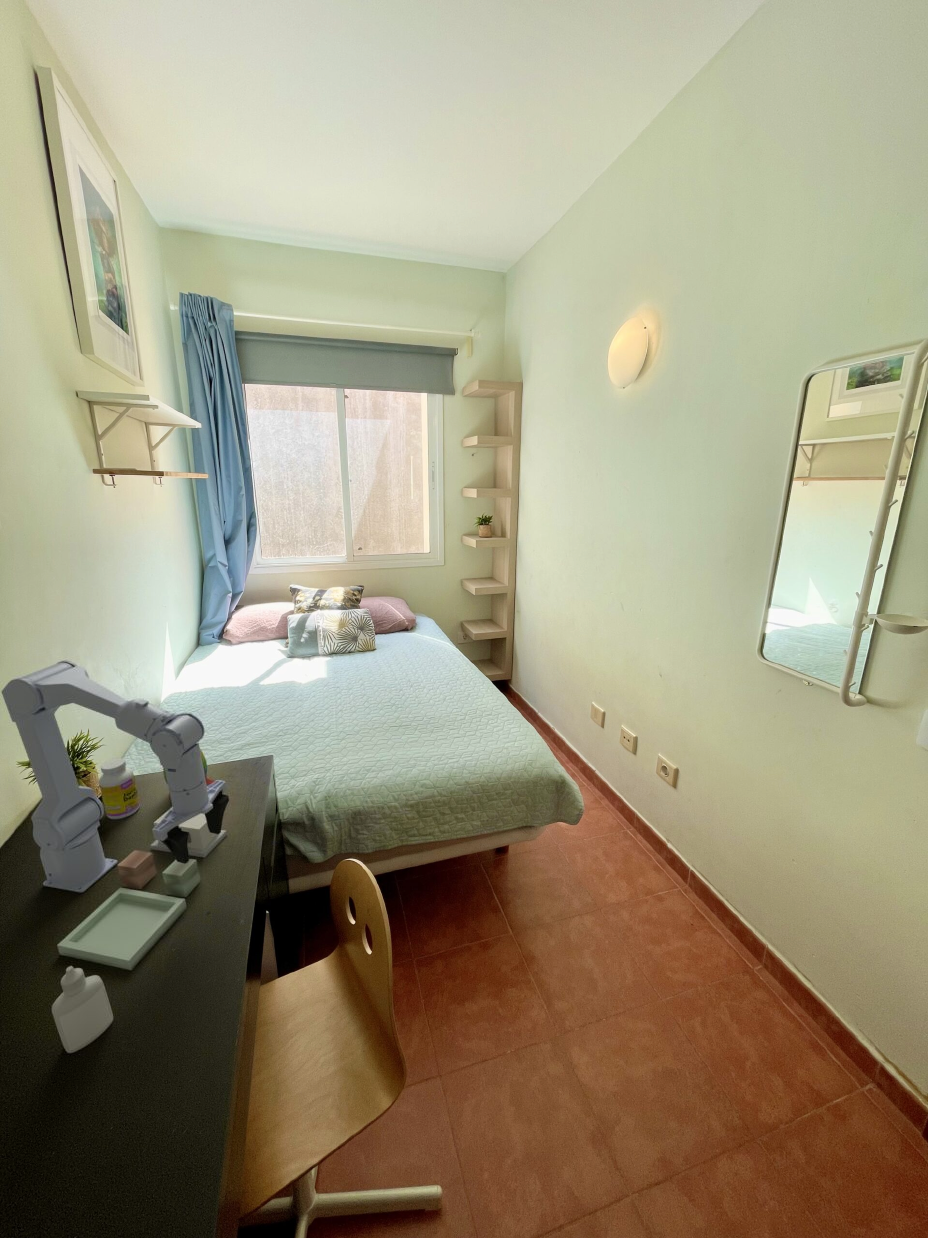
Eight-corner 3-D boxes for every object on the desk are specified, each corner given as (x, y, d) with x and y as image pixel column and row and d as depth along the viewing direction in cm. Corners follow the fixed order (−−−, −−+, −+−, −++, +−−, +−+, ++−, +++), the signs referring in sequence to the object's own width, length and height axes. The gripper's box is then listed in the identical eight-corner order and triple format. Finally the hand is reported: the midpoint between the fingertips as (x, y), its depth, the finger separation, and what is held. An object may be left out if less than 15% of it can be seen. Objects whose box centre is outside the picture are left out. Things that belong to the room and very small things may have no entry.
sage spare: (167, 894, 93) (162, 872, 91) (182, 878, 96) (178, 857, 95) (185, 897, 92) (180, 876, 90) (200, 881, 96) (196, 860, 94)
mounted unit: (151, 849, 104) (145, 825, 102) (176, 827, 111) (171, 804, 109) (204, 857, 101) (199, 833, 100) (227, 834, 108) (222, 811, 106)
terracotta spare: (122, 886, 95) (117, 865, 93) (139, 871, 98) (134, 850, 97) (140, 889, 94) (135, 868, 92) (156, 873, 98) (152, 853, 96)
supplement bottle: (128, 820, 113) (116, 771, 109) (100, 820, 113) (87, 772, 110) (147, 802, 119) (136, 755, 116) (120, 802, 120) (108, 755, 116)
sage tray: (60, 954, 81) (57, 945, 80) (122, 896, 92) (120, 887, 92) (131, 970, 78) (128, 960, 78) (186, 908, 89) (184, 899, 89)
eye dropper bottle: (110, 1039, 69) (90, 974, 65) (60, 1059, 66) (37, 992, 63) (116, 1009, 72) (98, 946, 69) (69, 1027, 70) (48, 963, 67)
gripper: (170, 812, 79) (184, 880, 83) (235, 763, 92) (245, 824, 96) (136, 804, 81) (152, 871, 85) (205, 758, 94) (216, 818, 98)
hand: (199, 846), depth 91 cm, fingers open, 7 cm apart
